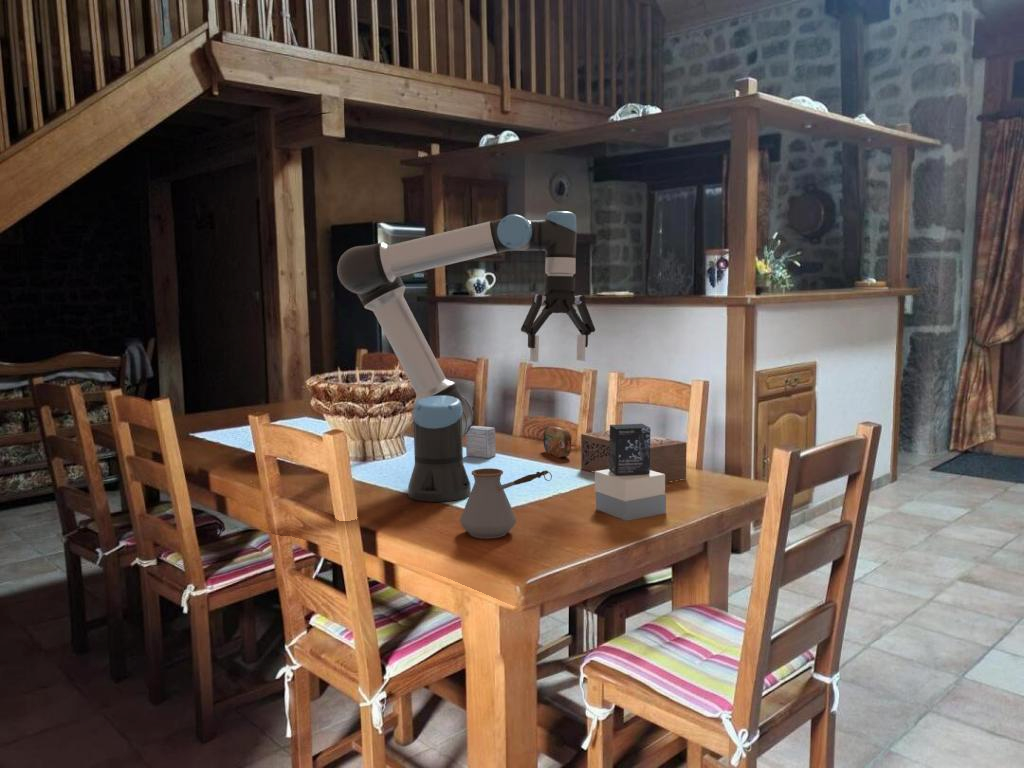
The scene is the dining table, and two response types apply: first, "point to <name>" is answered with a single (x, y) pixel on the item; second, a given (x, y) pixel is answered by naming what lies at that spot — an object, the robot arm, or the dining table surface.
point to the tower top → (630, 485)
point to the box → (629, 449)
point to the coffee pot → (491, 504)
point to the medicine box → (480, 442)
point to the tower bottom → (631, 506)
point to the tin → (557, 441)
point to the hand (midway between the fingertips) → (557, 361)
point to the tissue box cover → (663, 454)
